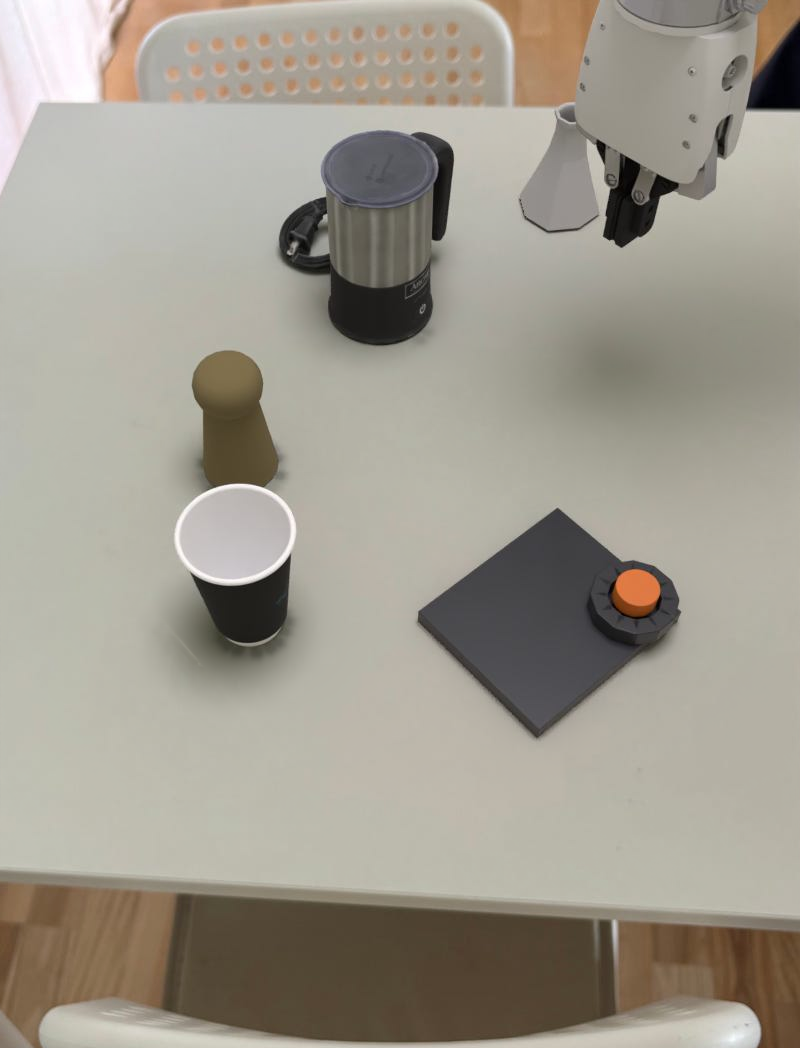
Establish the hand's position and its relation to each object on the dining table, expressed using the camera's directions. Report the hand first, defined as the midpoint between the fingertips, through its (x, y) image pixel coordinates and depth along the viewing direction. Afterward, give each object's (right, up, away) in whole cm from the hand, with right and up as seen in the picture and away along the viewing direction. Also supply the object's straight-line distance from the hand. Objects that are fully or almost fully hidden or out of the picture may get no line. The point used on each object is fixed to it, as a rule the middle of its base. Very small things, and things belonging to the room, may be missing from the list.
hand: (626, 233), depth 78 cm
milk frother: (-19, +2, +21) cm, 29 cm away
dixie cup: (-27, -27, +3) cm, 38 cm away
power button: (0, -26, -1) cm, 26 cm away
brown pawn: (-28, -15, +11) cm, 34 cm away
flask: (+1, +10, +26) cm, 28 cm away
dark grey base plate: (-5, -27, +1) cm, 28 cm away
